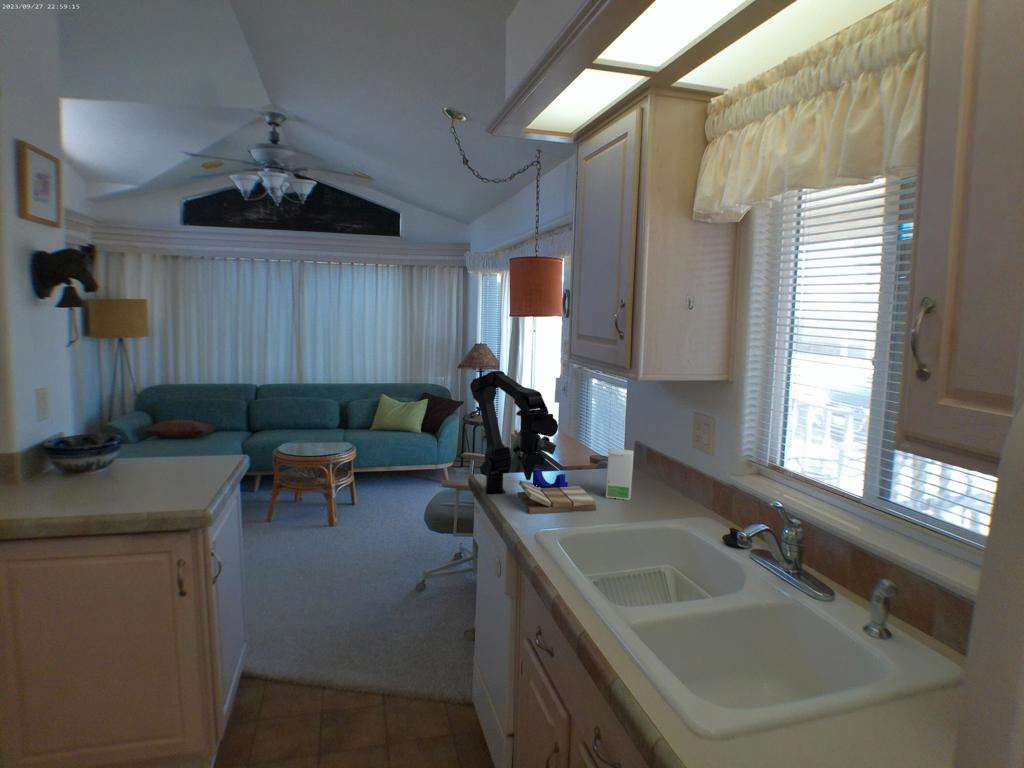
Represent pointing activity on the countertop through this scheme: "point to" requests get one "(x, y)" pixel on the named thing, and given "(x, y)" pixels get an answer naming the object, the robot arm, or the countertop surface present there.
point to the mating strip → (556, 497)
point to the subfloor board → (540, 508)
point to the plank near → (534, 493)
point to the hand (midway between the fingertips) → (528, 480)
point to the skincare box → (619, 474)
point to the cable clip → (542, 483)
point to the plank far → (577, 496)
